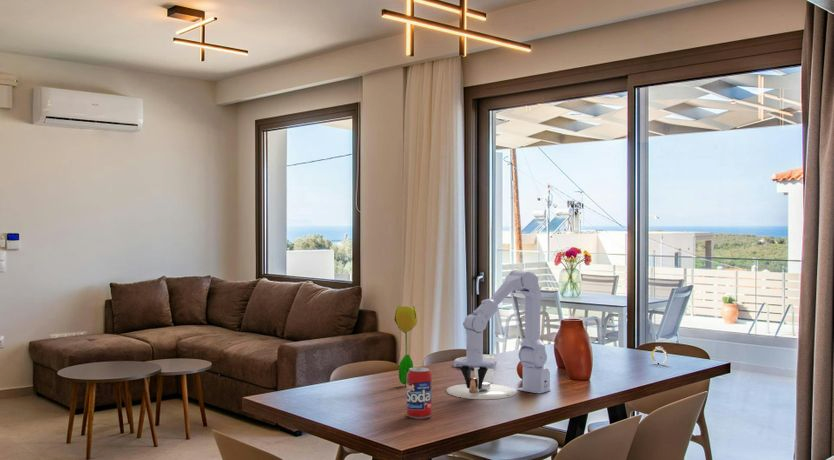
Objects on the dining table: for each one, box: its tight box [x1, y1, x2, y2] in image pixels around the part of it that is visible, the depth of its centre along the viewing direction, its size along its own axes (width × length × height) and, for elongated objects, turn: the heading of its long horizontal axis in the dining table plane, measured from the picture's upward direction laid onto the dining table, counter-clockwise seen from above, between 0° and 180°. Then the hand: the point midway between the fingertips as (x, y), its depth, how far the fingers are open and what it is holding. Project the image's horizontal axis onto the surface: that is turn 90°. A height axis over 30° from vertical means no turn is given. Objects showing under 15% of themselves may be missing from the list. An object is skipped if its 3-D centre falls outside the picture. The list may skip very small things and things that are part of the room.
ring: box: [650, 345, 669, 364], centre depth 333 cm, size 7×3×8 cm, turn 43°
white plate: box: [446, 383, 517, 401], centre depth 274 cm, size 25×25×1 cm
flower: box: [393, 305, 418, 387], centre depth 284 cm, size 9×8×30 cm
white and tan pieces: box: [469, 376, 491, 394], centre depth 270 cm, size 15×6×6 cm, turn 159°
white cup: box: [473, 354, 495, 384], centre depth 292 cm, size 8×8×10 cm
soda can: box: [406, 366, 433, 420], centre depth 237 cm, size 8×8×15 cm
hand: (474, 388), depth 265 cm, fingers open, 3 cm apart
